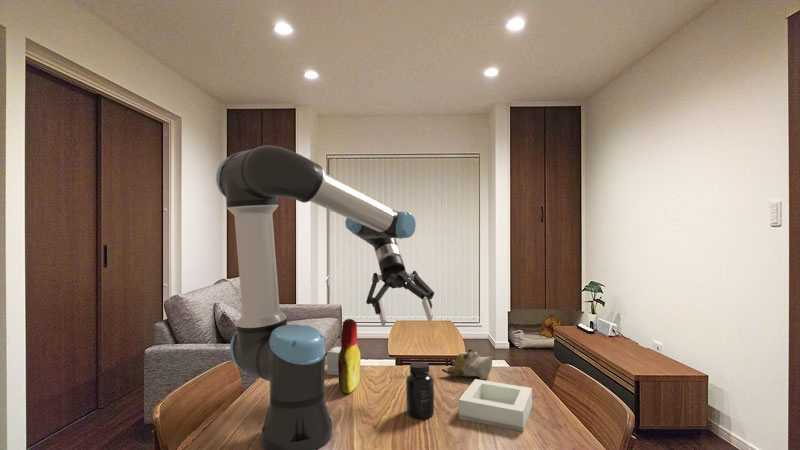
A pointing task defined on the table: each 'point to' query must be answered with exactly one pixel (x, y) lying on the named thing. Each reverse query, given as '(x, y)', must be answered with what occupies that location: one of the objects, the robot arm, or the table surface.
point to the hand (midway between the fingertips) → (408, 321)
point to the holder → (496, 404)
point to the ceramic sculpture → (470, 365)
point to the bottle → (349, 357)
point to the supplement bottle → (420, 391)
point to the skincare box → (333, 360)
